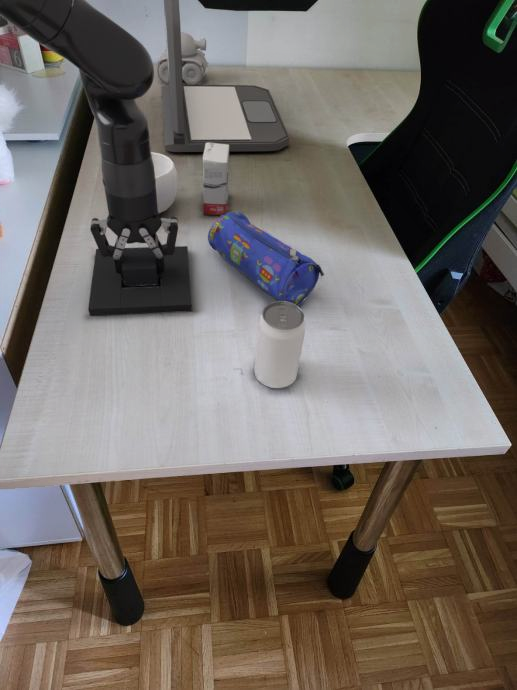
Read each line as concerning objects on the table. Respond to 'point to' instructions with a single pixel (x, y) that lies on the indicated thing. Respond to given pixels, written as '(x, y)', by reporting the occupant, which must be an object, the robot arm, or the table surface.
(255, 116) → the gray camera stand
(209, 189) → the ink box
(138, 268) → the plug pad
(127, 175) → the robot arm
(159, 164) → the cup
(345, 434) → the table surface
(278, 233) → the table surface
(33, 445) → the table surface
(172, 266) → the socket pad
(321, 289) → the table surface
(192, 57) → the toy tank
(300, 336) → the can
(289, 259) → the pencil case
